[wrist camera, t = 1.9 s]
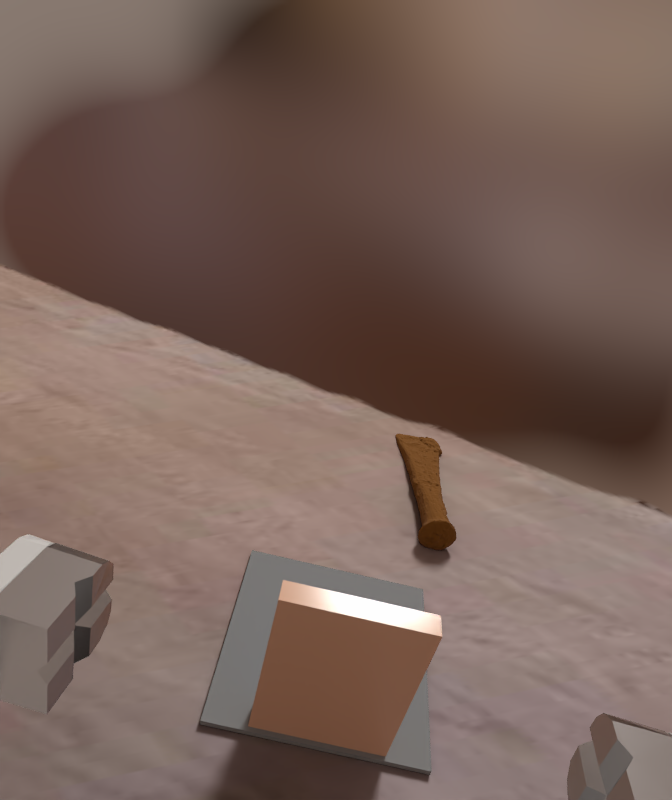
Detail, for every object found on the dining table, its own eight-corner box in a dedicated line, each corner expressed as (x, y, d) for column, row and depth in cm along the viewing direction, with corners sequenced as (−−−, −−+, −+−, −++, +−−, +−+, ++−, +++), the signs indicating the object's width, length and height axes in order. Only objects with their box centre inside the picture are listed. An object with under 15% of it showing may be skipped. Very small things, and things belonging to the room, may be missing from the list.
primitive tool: (393, 436, 72) (401, 412, 70) (436, 443, 72) (445, 420, 70) (413, 551, 55) (425, 524, 53) (468, 560, 56) (481, 533, 54)
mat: (199, 724, 37) (200, 720, 37) (251, 553, 50) (252, 550, 50) (429, 774, 37) (431, 771, 37) (421, 592, 50) (422, 589, 50)
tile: (247, 726, 37) (278, 599, 31) (253, 702, 38) (283, 577, 32) (385, 756, 37) (442, 636, 31) (386, 731, 39) (440, 612, 33)
